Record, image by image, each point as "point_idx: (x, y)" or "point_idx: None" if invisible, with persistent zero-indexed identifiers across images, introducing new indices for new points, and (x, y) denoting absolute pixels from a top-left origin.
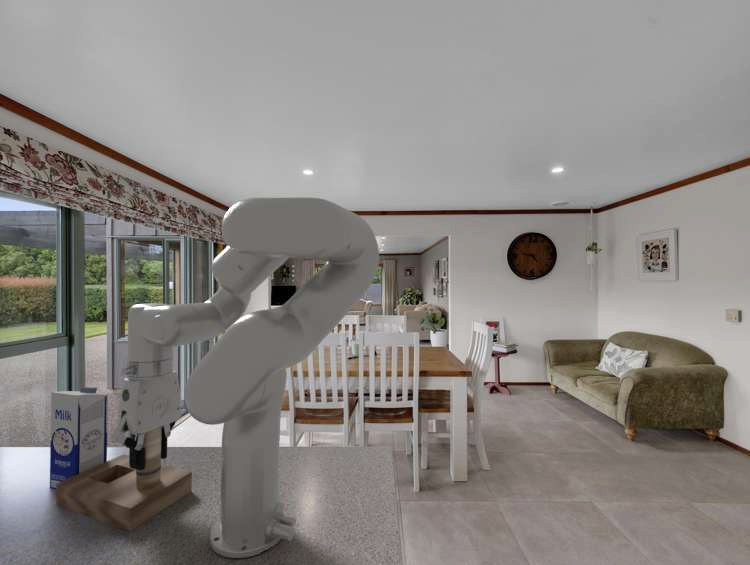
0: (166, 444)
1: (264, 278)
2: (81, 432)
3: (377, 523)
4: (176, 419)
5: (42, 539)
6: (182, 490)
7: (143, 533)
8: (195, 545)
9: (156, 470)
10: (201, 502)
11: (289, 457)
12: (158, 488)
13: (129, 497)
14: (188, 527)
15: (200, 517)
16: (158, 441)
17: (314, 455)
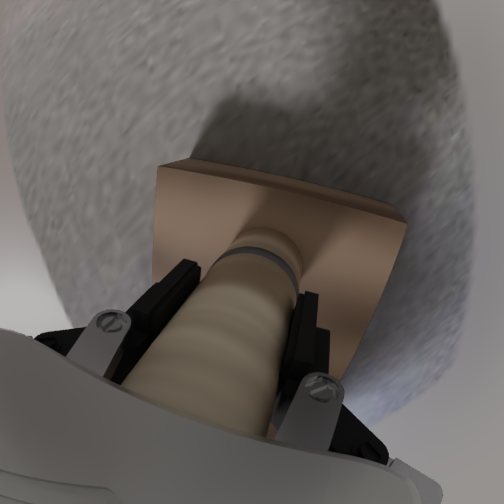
0: (155, 291)
1: None
2: None
3: None
4: (14, 332)
5: (411, 362)
6: (213, 166)
7: (393, 162)
8: (400, 6)
9: (259, 251)
10: (230, 90)
11: (28, 44)
12: (282, 210)
13: (349, 271)
14: (346, 54)
15: (297, 47)
16: (200, 330)
17: (23, 8)
